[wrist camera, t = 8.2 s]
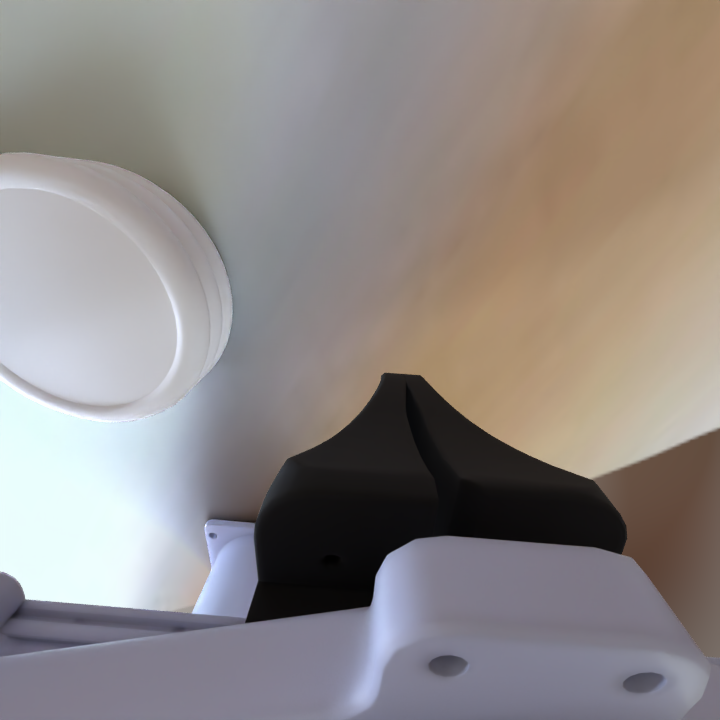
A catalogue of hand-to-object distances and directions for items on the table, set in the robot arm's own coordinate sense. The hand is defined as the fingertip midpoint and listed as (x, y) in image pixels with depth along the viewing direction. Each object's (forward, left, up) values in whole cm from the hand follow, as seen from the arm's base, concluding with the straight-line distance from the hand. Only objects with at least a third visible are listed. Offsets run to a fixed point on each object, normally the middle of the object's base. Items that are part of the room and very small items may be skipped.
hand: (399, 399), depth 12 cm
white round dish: (+2, +12, -5) cm, 13 cm away
